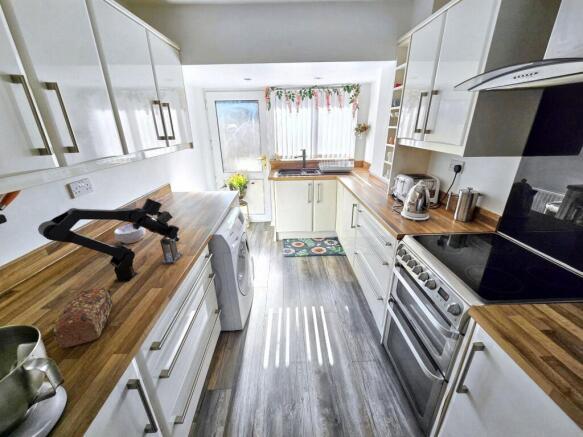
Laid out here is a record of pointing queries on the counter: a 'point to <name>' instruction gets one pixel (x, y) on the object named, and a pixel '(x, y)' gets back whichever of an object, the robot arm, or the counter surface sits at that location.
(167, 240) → the ball knob lever
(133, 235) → the paper bowls
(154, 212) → the robot arm
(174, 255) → the bracket
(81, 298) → the bread
